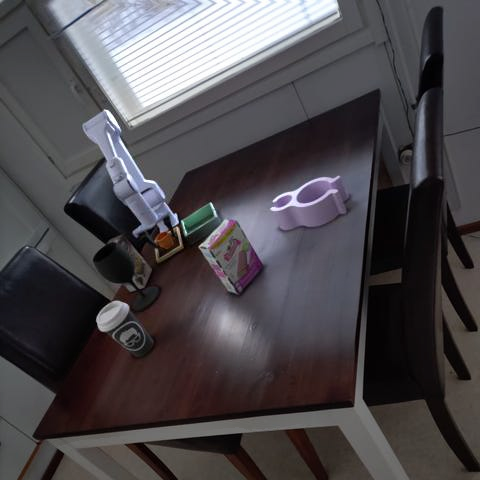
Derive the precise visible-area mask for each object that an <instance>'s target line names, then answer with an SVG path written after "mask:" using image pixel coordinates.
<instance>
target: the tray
mask: <svg viewBox="0 0 480 480" xmlns="http://www.w3.org/2000/svg"><path fill="white" fill-rule="evenodd" d="M173 230H174V232H175V233H176V235H177V237H178V242H179V246H177V247H176V248H174V249H172V250H170V251H169V252H167V253H165V254H164V255H162V256H161V257H160V254H159V253H160V252H159V247H158V248H157V249H156V248H155V247H154V252H155V259H156V263H157V264H161V263H162V262H163V261H165V260H167V259H168V258H170V257H172V256H173V255H175V254H176V253H177V252H180V251H181V250H183V249H184V244H183V243H184V242H183V240H182V236H181V233H180V232H181V231H180V228H179V226H176V227H174V228H173ZM168 232H169V233H170V234H171V235H172V233H171V232H170V230H168ZM154 241H155V243H156V244H157V245H158V243H157V242H156V239H154Z"/></svg>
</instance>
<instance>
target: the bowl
mask: <svg viewBox="0 0 480 480" xmlns="http://www.w3.org/2000/svg"><path fill="white" fill-rule="evenodd" d="M155 240H156V242H157V245H158V247H161V248H164V249H165V250H168V249H170V248H172V247H173V245H174V242H173V241H174V239H173V235H172V234H170V233H169V230H167V231H164V232H161V233H160V232H159V234H157V236H156V237H155Z"/></svg>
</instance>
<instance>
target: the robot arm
mask: <svg viewBox="0 0 480 480" xmlns="http://www.w3.org/2000/svg"><path fill="white" fill-rule="evenodd" d="M82 130H83V132H84V134H85V135H86V136H87V138H88V139H89V140H90V141H92V142H93V143H94V144H95V145H98V147H99V149H100V151H101V153H102V154H103V156H104V158H105V160H106V163H105V169H106V170H107V172H108V175H109V177H110V179H111V181H112V184H113V186H112V190H113V192H114V194H115V196H116V197H117V199H119V200H120V201H121V202H122V203H123V204H124V205H125V206H127V207H128V208H129V209H130V211H131V212H132V213H133V215H134V216H135V217H136V218H137V220H138V221H139V222H140V225H139V226H138V227H137V228H135V229H134V230H133V231H132V235H133V236H134V237H135V238H136V239H138V238H139V240H141V241H143V242H145V243H147V244H149V245H151V246H152V247H153V248H154V249H155V248H156V249H157V248H158V249H159V245H158V243H157V244H156V243H155V239H153V238H152V237H151V235H150V234H149V232H148V231H149V230H151V229H152V228H154V227H155V226H157V227H158V229H159V234H160V233H162V232H164V231H170V232H171V233H172V234H171V236H172V237H173V238H177V233H176V232H174V230H173V229H174V228H173V227H175V226H177V225H179V218H178V214H177V213H173V211H172V210H171V208H170V207H169V206H168V204H167V203H166V202H165V201H166V195H165V193H164V190H162V188H161V187H160V186H159V184H158V183H157V182H156V181H155V180H149V179H145V177H144V175H143V173H142V172H141V170H140V169H139V167H138V166H137V163H136V162H135V160H134V158H133V157H132V156H131V154H130V153H129V150H128V149H127V148H126V146H125V143H123V140H122V139H121V135H122V130H121V126H120V125H119V124H118V121H117V120H116V118H115V117H114V116H113V114H112V113H111V112H110V110H107V109H103V110H101V112H99V113H98V114H97V115H95V116H94V117H92V118H91V119H88V121H86V122H84V123H82Z"/></svg>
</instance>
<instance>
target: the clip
mask: <svg viewBox="0 0 480 480" xmlns="http://www.w3.org/2000/svg"><path fill="white" fill-rule="evenodd" d="M349 198H350V197H349V195H348V192H347V190H346V187H345V185H344V183H343V180H342V177H341V176H340V175H337V176H335V177H334V178H333V177H329V176H321V177H318V178H315V179H312V180H310V181H308V182H306V183H304V184H303V185H302V186H300V187H299V188H297V189H295V190H293V191H286V192H283V193H282V194H279V195H278V196H276V197H275V198H274V199H273V200H272V203H273V205H274V206H272V207H271V208H270V211H271V214H272V215H273V217H274V219H275V220H276V222H277V225H278V226H279V228H280V229H281V230H283V231H290V230H293V229H295V228H298V227H300V226H305V227H309V228H316V227H321V226H323V225H326V224H328V223H330V222H332V221H333V220H335V219H336V218H337V217H338V216H339V215H346V214H347V207H345V204H344V202H346V201H347V200H348V199H349Z"/></svg>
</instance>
